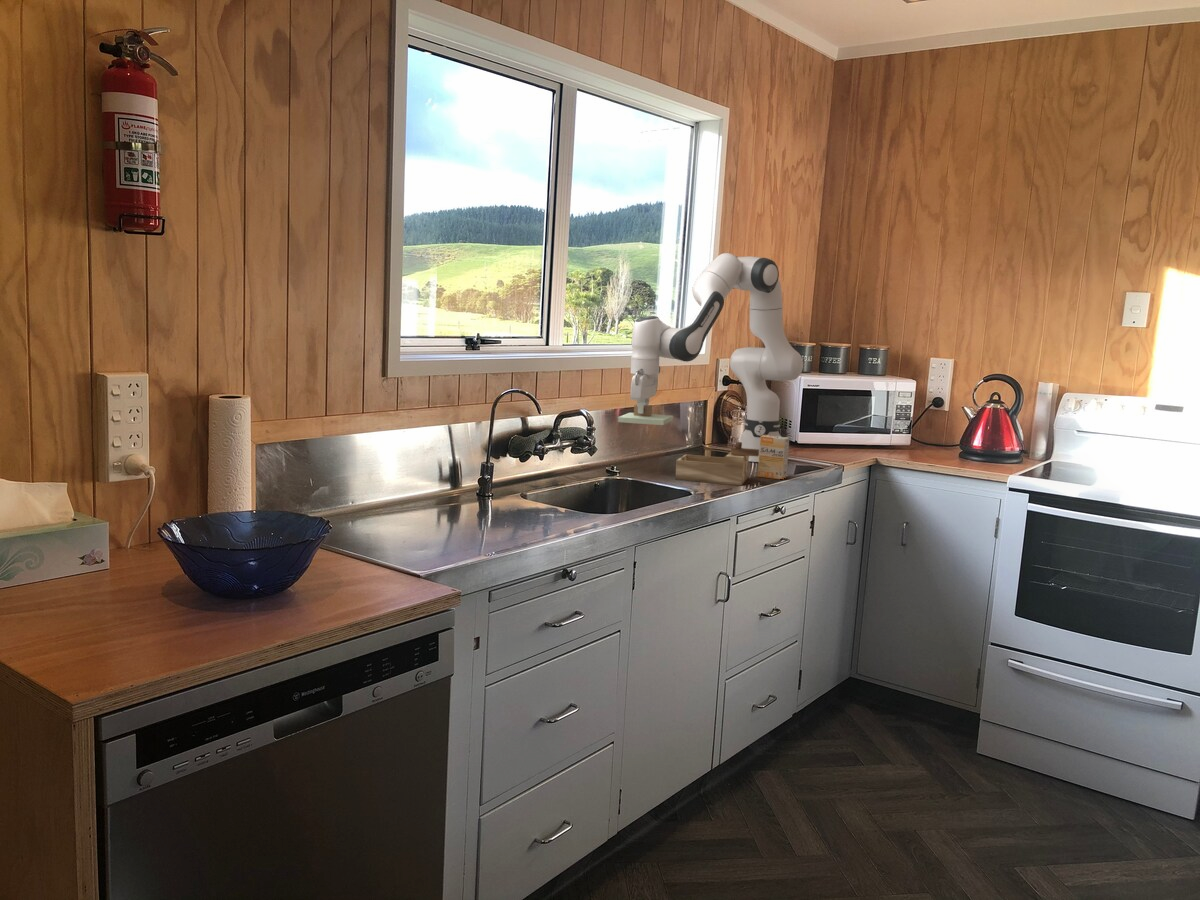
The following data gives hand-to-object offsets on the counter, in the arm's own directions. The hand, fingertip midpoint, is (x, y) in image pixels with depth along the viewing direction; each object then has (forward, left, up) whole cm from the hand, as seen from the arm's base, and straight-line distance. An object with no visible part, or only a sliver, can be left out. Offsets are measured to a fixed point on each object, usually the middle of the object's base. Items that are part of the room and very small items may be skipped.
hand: (642, 412), depth 301 cm
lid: (+1, +2, -2) cm, 3 cm away
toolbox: (+3, +24, -19) cm, 30 cm away
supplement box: (-9, +41, -19) cm, 45 cm away
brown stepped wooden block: (+6, +33, -10) cm, 35 cm away
